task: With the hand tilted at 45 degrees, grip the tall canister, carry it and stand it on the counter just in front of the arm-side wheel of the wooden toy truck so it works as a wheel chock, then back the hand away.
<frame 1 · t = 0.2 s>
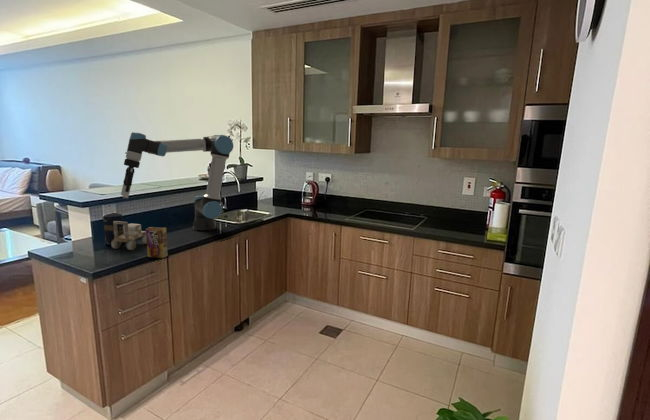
hand: (124, 196, 194), 27 cm above the worktop, tool tilted 15°, fingers open, 13 cm apart
canister: (115, 243, 198), on the worktop
candy box: (157, 256, 180), on the worktop
wooden toy truck: (130, 232, 193), point 8 cm above the worktop, slide at 0.0 cm
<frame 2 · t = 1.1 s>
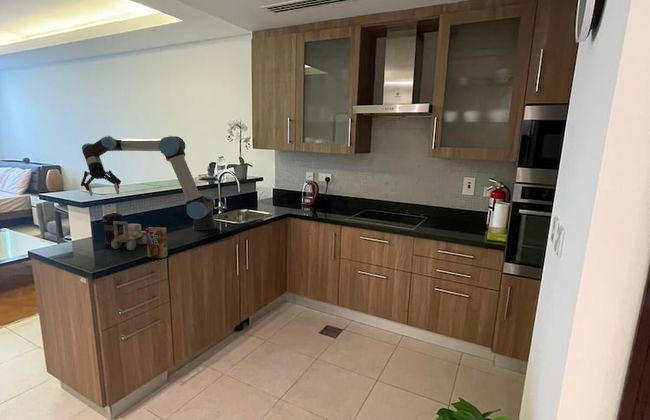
hand: (105, 193, 200), 28 cm above the worktop, tool tilted 45°, fingers open, 13 cm apart
nothing on the worktop moved.
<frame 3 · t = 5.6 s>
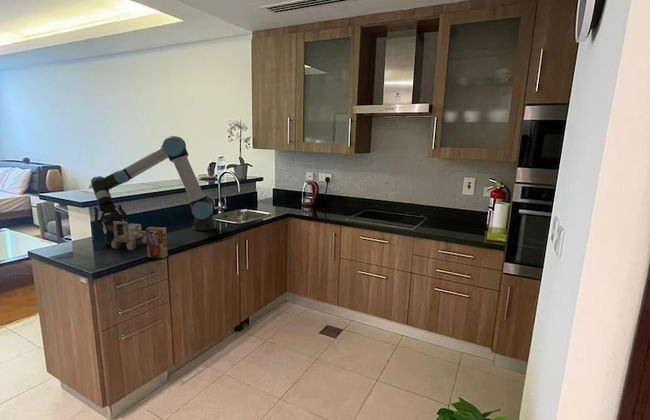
hand: (116, 231, 195), 8 cm above the worktop, tool tilted 45°, fingers closed on canister, 9 cm apart
canister: (115, 243, 198), on the worktop, touching gripper
everything else where it was.
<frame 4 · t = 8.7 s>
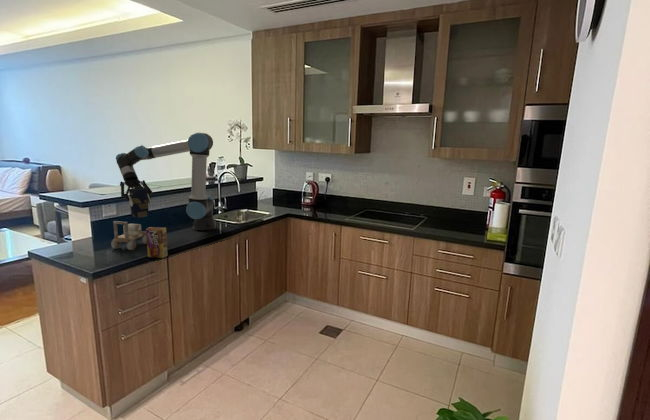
hand: (141, 204, 203), 22 cm above the worktop, tool tilted 45°, fingers closed on canister, 9 cm apart
canister: (140, 216, 207), point 14 cm above the worktop, touching gripper
everything else where it was.
when the fingers open (9 cm above the worktop, at t = 12.2 s): canister drops 1 cm, on the worktop.
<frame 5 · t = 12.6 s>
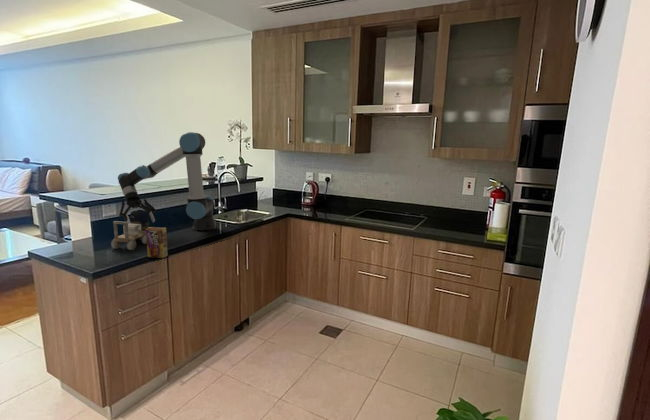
hand: (142, 223, 206), 10 cm above the worktop, tool tilted 45°, fingers open, 13 cm apart
canister: (141, 238, 210), on the worktop
everything else where it was.
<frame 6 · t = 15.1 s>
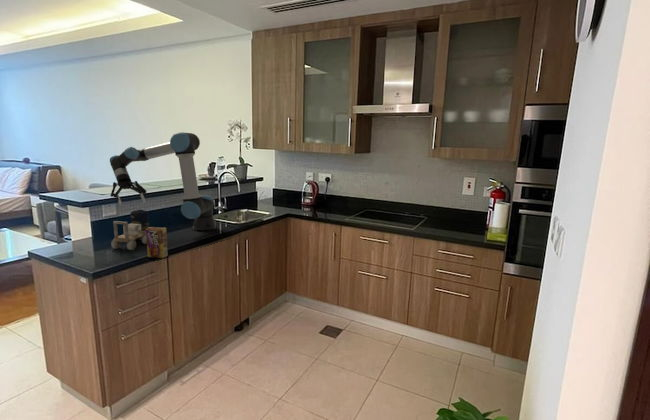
hand: (133, 203, 213), 20 cm above the worktop, tool tilted 45°, fingers open, 13 cm apart
nothing on the worktop moved.
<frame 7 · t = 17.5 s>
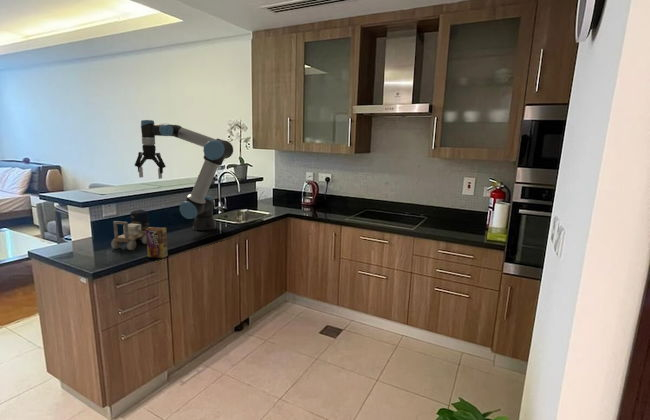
hand: (150, 177, 224), 35 cm above the worktop, tool pointing down, fingers open, 13 cm apart
nothing on the worktop moved.
at the end: canister 1.3 cm from the target spot, on the worktop; canister tilted 0°; wooden toy truck slide at 0.0 cm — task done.
